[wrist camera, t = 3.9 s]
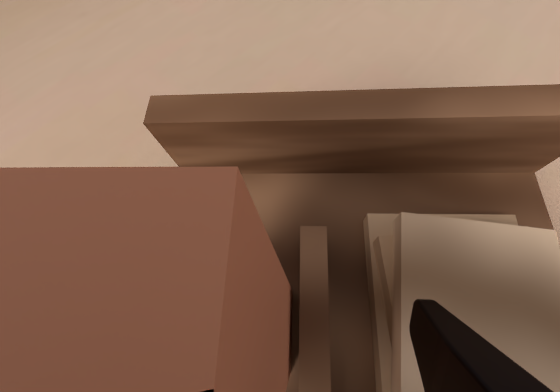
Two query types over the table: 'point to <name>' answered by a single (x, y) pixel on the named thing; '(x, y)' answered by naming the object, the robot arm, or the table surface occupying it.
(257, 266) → the block
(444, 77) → the table surface
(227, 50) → the table surface
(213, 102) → the rack
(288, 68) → the table surface
